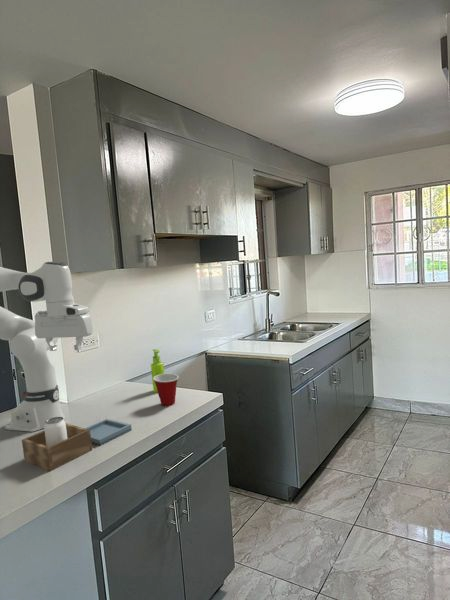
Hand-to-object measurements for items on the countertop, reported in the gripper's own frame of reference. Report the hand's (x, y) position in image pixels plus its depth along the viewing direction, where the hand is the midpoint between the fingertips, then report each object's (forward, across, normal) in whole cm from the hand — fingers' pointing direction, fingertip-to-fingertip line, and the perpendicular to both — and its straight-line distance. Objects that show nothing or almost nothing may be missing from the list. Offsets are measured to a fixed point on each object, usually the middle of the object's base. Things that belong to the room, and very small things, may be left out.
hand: (65, 350), depth 138 cm
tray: (+33, +6, +9) cm, 35 cm away
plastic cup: (+33, +19, +40) cm, 55 cm away
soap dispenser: (+33, +7, +57) cm, 66 cm away
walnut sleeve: (+33, -1, -8) cm, 34 cm away
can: (+34, -1, -8) cm, 34 cm away
